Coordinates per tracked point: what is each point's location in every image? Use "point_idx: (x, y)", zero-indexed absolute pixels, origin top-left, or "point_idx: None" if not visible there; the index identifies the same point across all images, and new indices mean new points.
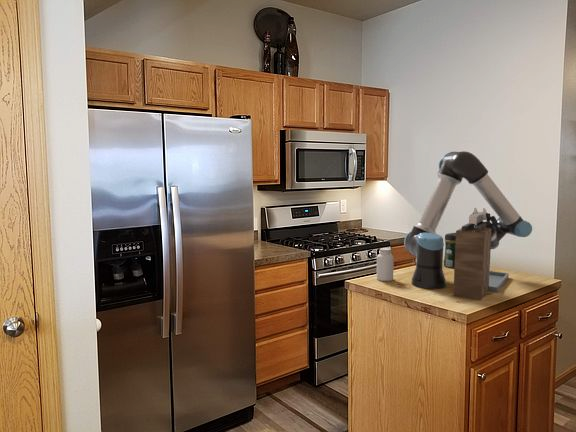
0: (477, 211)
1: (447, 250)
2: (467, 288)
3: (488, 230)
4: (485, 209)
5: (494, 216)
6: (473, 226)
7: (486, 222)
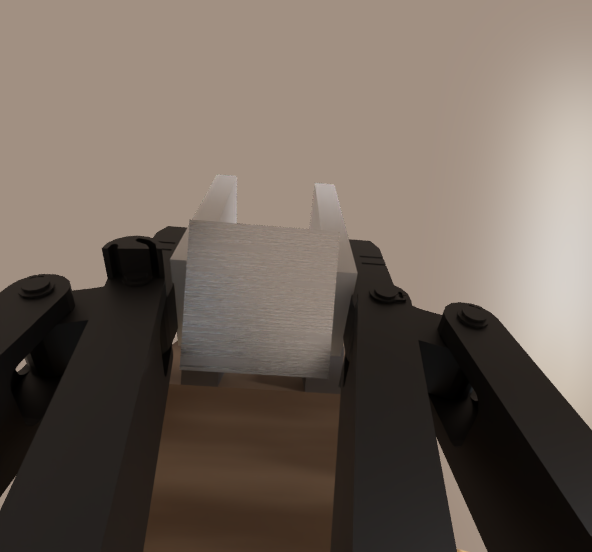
0: (320, 223)
1: None
2: None
3: (174, 343)
4: (212, 185)
5: (20, 283)
6: (303, 377)
7: (159, 445)
